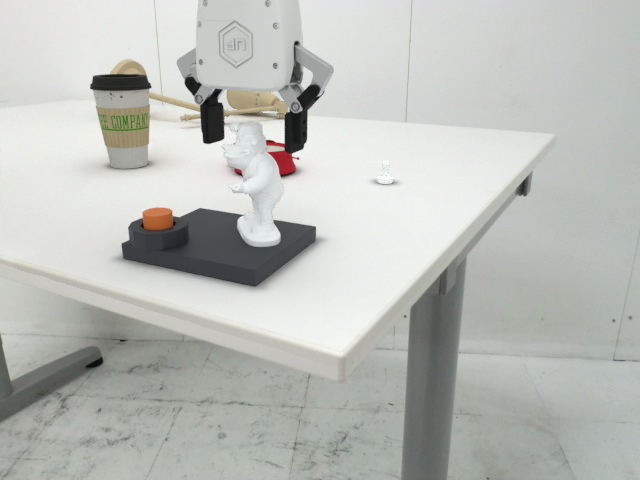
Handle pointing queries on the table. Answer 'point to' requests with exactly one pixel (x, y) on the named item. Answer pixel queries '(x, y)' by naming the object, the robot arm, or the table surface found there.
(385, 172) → the chess pawn
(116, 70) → the desk lamp
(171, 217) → the button
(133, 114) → the coffee cup
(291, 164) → the alarm clock
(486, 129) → the table surface
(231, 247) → the scale
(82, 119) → the table surface
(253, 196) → the figurine
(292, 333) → the table surface
